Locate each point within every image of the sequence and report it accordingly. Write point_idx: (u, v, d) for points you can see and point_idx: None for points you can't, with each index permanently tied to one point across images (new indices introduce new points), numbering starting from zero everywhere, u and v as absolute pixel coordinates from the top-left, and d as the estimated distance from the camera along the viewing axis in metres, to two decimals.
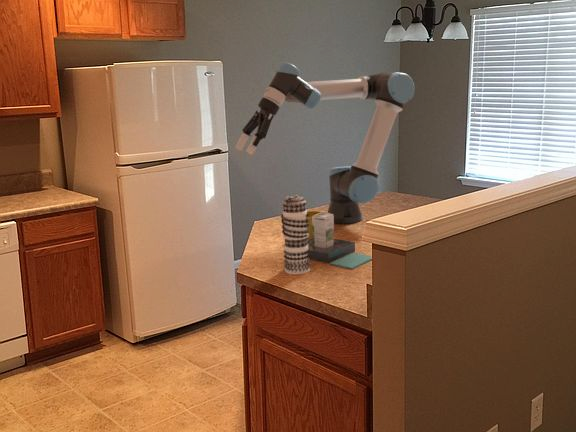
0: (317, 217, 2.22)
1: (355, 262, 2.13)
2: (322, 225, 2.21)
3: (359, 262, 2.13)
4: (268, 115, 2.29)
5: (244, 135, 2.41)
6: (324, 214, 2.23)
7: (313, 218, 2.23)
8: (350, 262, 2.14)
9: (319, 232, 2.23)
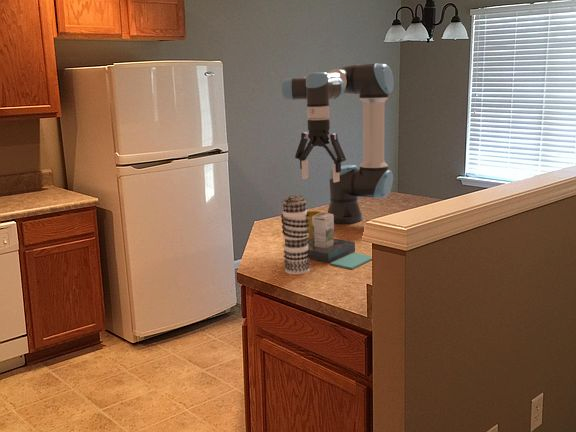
0: (317, 217, 2.22)
1: (355, 262, 2.13)
2: (322, 225, 2.21)
3: (359, 262, 2.13)
4: (333, 136, 2.12)
5: (304, 162, 2.23)
6: (324, 214, 2.23)
7: (313, 218, 2.23)
8: (350, 262, 2.14)
9: (319, 232, 2.23)
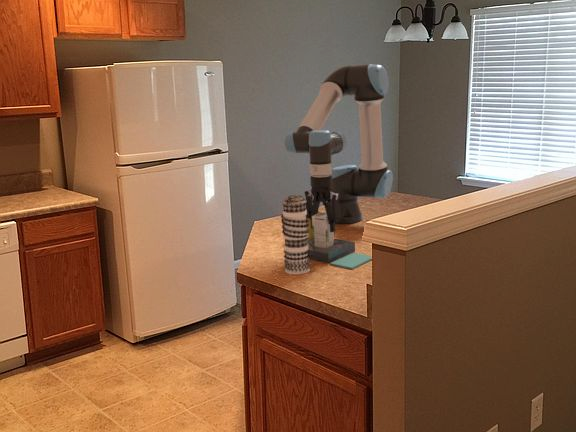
0: (317, 217, 2.22)
1: (355, 262, 2.13)
2: (322, 225, 2.21)
3: (359, 262, 2.13)
4: (335, 198, 2.17)
5: None
6: (324, 214, 2.23)
7: (313, 218, 2.23)
8: (350, 262, 2.14)
9: (319, 232, 2.23)
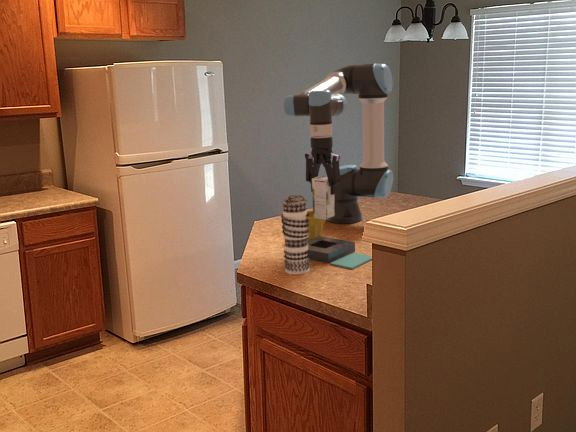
0: (317, 179, 2.18)
1: (355, 262, 2.13)
2: (322, 188, 2.17)
3: (359, 262, 2.13)
4: (336, 159, 2.13)
5: None
6: (324, 176, 2.19)
7: (313, 180, 2.19)
8: (350, 262, 2.14)
9: (319, 195, 2.19)
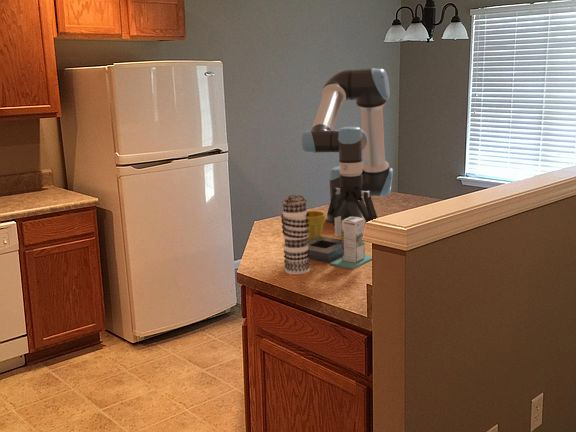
0: (347, 221, 2.11)
1: None
2: (353, 230, 2.10)
3: (359, 262, 2.13)
4: (367, 195, 2.06)
5: (337, 219, 2.16)
6: (354, 218, 2.13)
7: (343, 222, 2.12)
8: (350, 262, 2.14)
9: (349, 237, 2.12)
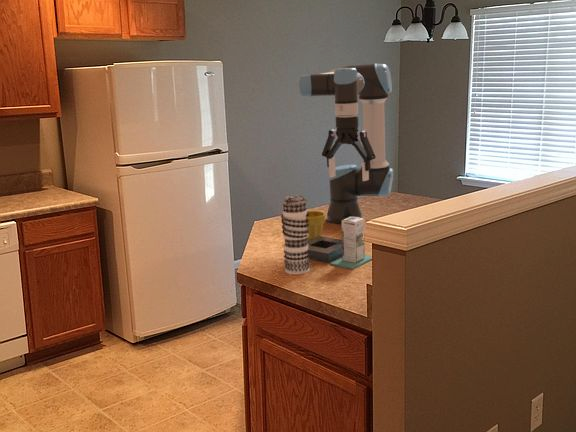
0: (347, 221, 2.11)
1: None
2: (352, 230, 2.10)
3: (359, 262, 2.13)
4: (363, 134, 2.07)
5: (331, 160, 2.18)
6: (354, 218, 2.13)
7: (343, 222, 2.12)
8: (350, 262, 2.14)
9: (349, 237, 2.12)
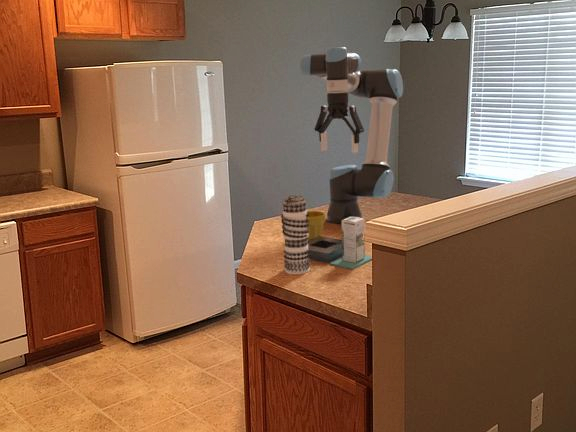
0: (347, 221, 2.11)
1: None
2: (352, 230, 2.10)
3: (359, 262, 2.13)
4: (352, 109, 2.22)
5: (323, 135, 2.32)
6: (354, 218, 2.13)
7: (343, 222, 2.12)
8: (350, 262, 2.14)
9: (349, 237, 2.12)
